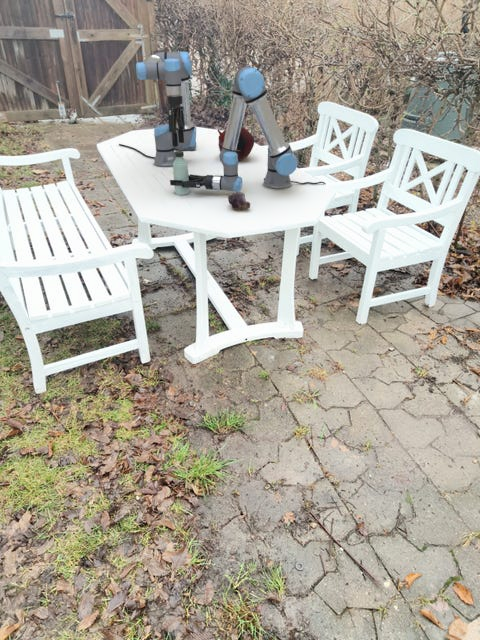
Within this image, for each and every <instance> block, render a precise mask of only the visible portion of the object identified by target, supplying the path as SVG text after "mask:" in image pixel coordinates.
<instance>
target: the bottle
mask: <svg viewBox="0 0 480 640" xmlns="http://www.w3.org/2000/svg"><path fill="white" fill-rule="evenodd" d="M172 171H173V172H172V173H173V180H182V181H189V176H190V174H189V165H188V162H187V161H186V159H185V158H184V156H183V157H176V159H175V161H174V162H173V166H172ZM190 190H191V188H182V186H174V193H175V195H178V196H185V195H186V196H187V195H188V194H190V192H191V191H190Z"/></svg>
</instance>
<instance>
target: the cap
mask: <svg viewBox="0 0 480 640" xmlns="http://www.w3.org/2000/svg"><path fill="white" fill-rule="evenodd" d="M174 152H175V157H183V158H184V156H185V154H184V150H177V151H174Z"/></svg>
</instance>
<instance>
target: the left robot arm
mask: <svg viewBox="0 0 480 640" xmlns="http://www.w3.org/2000/svg"><path fill="white" fill-rule="evenodd" d="M135 68H136V69H135V72H136V77H137V79H138V80H141V81H147V80H165V91H166V95H167V96H166V101H167V102H166V103H167V105H169V106H170V107H169V108H170V109H169V110H167V116H168V117H167V118H168V123H166V124H162V125H158V126H156V127H155V128H154V129H153V133H154V134H153V136H154V145H155V155H154V156H152V155H148V154H145V153H143V152H142V151H141V150H139V149H137V148H135V147H133V146H129V145H126V144H123V143H119V144H118V145H119V146H122V147H125V148H128V149H132V150H134V151H136V152H137V153H139V154H141V155H142V156H144V157H145V158H150V159H154V165H155V166H157V167H163V168H164V167H165V168H167V167H168V168H169V167H173V162H174V161H175V159H176V157H175V152H176V151H175V149H174V147H190V146H195V143H196V144H197V127H196V126H195V124H194V122H193V121H192V113H191V101H190V86H189V81H190V80H191V76H193V74H194V70H193V65H192V59H191V56H190V53H189V52H187V51H181V50H180V51H159V52H156V53H153V54H151V55H150V56H148V57H147V58H146V61H145V62H144V61H141V62H136V64H135Z"/></svg>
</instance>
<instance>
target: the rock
mask: <svg viewBox="0 0 480 640" xmlns="http://www.w3.org/2000/svg"><path fill="white" fill-rule="evenodd" d="M227 201H228V204H229V205H230V206H231V208H232V209H234V210H236V211H238V210H247V209H250V208H251V203H250V202H249V201H247V199H246V195H245V192H241V191H235V192H233V193H232V194H228V196H227Z"/></svg>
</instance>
